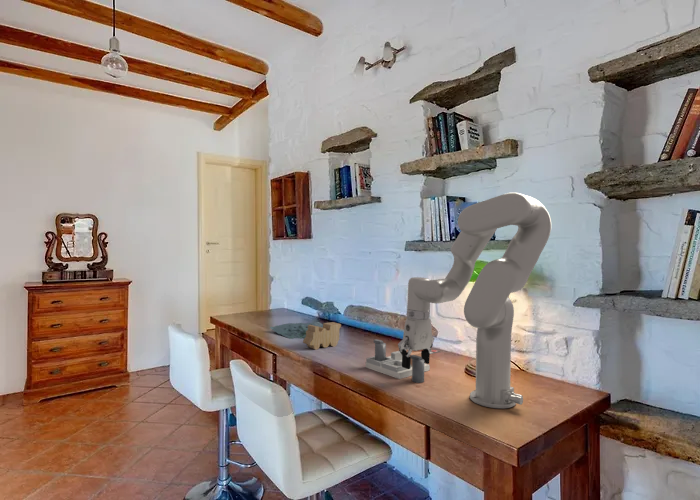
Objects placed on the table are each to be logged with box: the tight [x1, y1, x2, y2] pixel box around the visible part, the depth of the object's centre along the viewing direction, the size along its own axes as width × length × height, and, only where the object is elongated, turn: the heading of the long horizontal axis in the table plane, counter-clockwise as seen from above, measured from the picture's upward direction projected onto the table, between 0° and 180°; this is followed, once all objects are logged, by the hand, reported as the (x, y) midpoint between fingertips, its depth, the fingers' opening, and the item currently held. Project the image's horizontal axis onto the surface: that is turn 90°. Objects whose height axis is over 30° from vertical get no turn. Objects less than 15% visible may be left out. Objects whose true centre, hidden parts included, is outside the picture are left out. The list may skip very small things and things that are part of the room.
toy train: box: [302, 321, 342, 351], centre depth 178 cm, size 6×17×10 cm, turn 130°
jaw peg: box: [410, 355, 425, 384], centre depth 133 cm, size 5×4×8 cm
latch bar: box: [409, 350, 421, 366], centre depth 145 cm, size 2×6×4 cm, turn 130°
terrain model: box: [269, 321, 323, 340], centre depth 207 cm, size 26×28×5 cm
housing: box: [365, 339, 431, 380], centre depth 146 cm, size 17×16×10 cm
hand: (415, 365), depth 133 cm, fingers open, 9 cm apart
